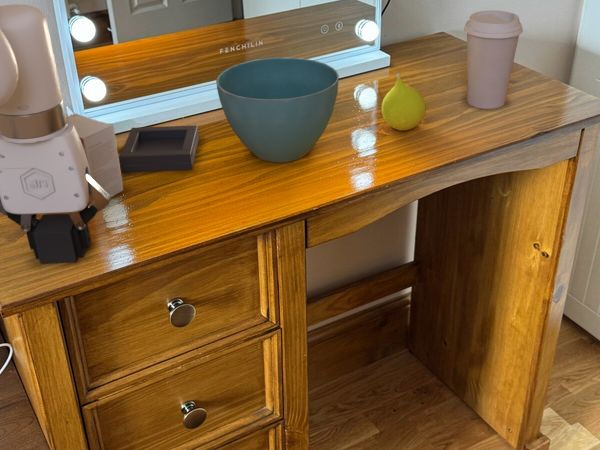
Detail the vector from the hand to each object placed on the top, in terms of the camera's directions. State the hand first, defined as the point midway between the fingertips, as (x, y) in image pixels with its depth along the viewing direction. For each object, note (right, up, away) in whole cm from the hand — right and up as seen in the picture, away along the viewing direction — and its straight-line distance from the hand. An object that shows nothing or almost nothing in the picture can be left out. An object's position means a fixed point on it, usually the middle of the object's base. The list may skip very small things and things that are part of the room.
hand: (62, 250), depth 96 cm
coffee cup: (+63, +25, +38) cm, 78 cm away
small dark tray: (+8, +14, +24) cm, 29 cm away
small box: (0, +8, +14) cm, 16 cm away
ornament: (+47, +19, +30) cm, 59 cm away
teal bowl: (+27, +15, +24) cm, 39 cm away
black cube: (0, 0, 0) cm, 0 cm away
